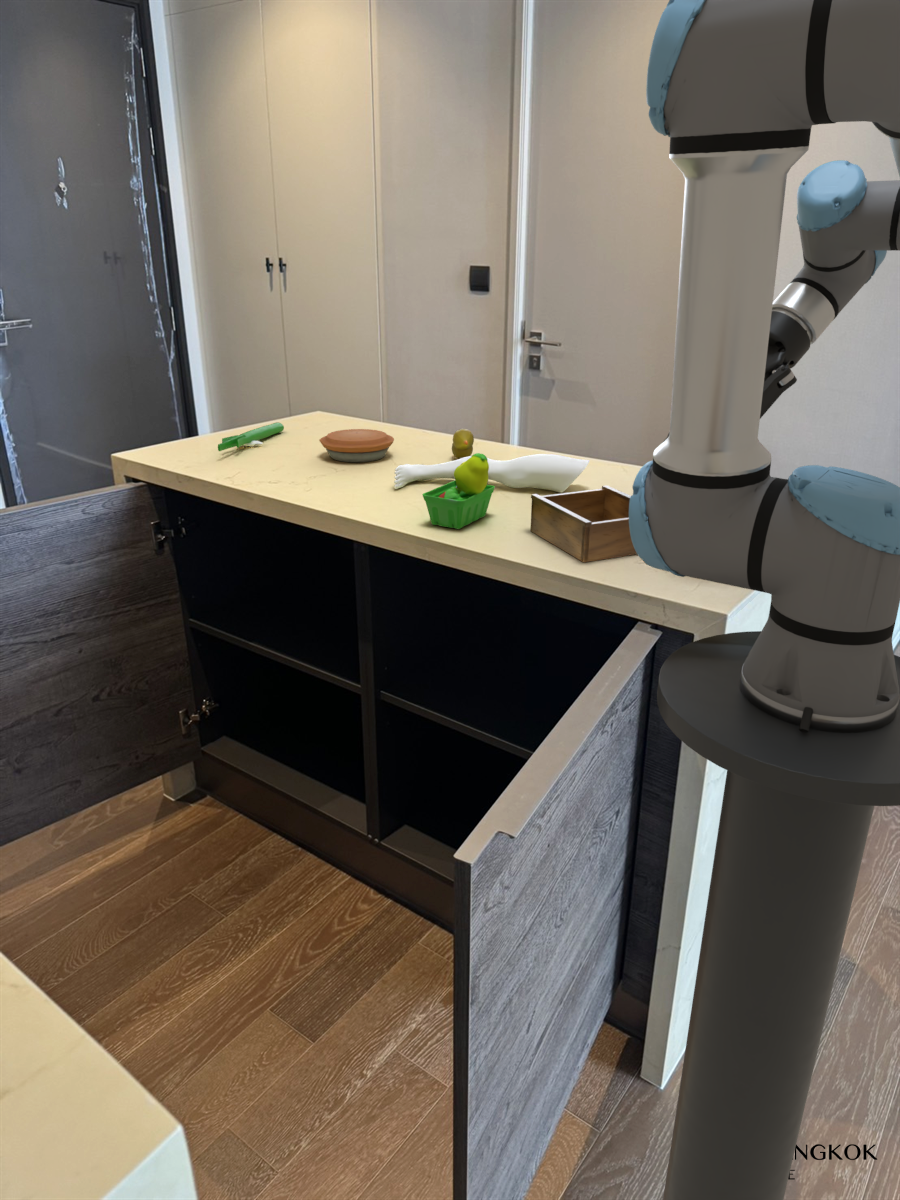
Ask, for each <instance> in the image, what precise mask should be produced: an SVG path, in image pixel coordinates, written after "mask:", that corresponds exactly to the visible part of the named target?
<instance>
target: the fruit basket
mask: <svg viewBox="0 0 900 1200" xmlns="http://www.w3.org/2000/svg"><path fill="white" fill-rule="evenodd" d="M471 456H472V457H471V458H469V459H468V460H467V461H465V462H463V463H462V464H460V466H458V467H457V468H456V469H455V471H454V477H455V479H454V480H452V481H450V482H447V483H446V484H445V483H444V484H443V485H441V486H438V487H436V488H434V489H431V490H429V491H426V492H424V493H422V498H423V500H424V502H425V505H426V509H427V512H428V516H429V520H430V523H431V525H434V526H440V527H444V528H451V529H455V530H460V529H462V528H464V527H465V526H466V527H467V526H468V525H470V524H472V523H474V522H477V521H478V520H479V519H482V518H484V517H486V514H487V511H488V508H489V505H490V501H491V498H492V494H493V493H494V491H495V488H496V486H495V485H491V484H488V482H489V479H488V470H489V464H488V462H487V460H488V459H487V458H488V457H487V456H486V454H484V453H479V452H476V453H474V454H473V455H472V454H471Z"/></svg>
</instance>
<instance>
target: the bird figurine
mask: <svg viewBox="0 0 900 1200" xmlns="http://www.w3.org/2000/svg"><path fill="white" fill-rule="evenodd" d="M474 442H475V438H474V435H473V433H472V431H471V430H469V429H467V428H461V429H458V430H456V431H455V432H454V433H453V436H452V445H451V452H452V455H453V456H454V457H455V458H456V459H457V460H458V459H460V458H464V457H468V456H472V454H473V451H474V446H473V445H474Z"/></svg>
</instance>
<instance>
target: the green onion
mask: <svg viewBox="0 0 900 1200" xmlns="http://www.w3.org/2000/svg"><path fill="white" fill-rule="evenodd" d="M284 429H285V426H284V424H283V423H281V422H274V423H273V422H272V423H271V424H266V425H263V426H260V427H256V428H253V429H251V430H250V429H249V430H247V431H245V432H243V433H240V434H236V435H232V436H227V437H223V438H221V442H220V443H218V444H217V451H218V452H222V451H225V450H228V449H231V448H235V447H236V448H237V449H239V448H240V447H242V446H243V447H251V448H252V447H255V446H256V445H263V444H264V443H263V441H260V440H263V439H266V438H268V437H269V438H270V437H271V436H273V435H276V434H279V433H282V432H283V431H284Z"/></svg>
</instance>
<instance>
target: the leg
mask: <svg viewBox="0 0 900 1200" xmlns="http://www.w3.org/2000/svg"><path fill="white" fill-rule="evenodd" d="M471 457H472V455H471V456H468V457H464V458H460V459H458V458H457V459H455V460H450V461H445V462H441V463H436V464H435V463H434V464H418V463H416V464H409V463H405V464H399V465H398V466H396V468H395V469H394V475H395V476H394V477H393V478H394V479H395V480H394V481H393V483H394V486H393V487H394V489H395V490H397V489H400V488H403V487H404V486H406V485H407V484H409V483H412V482H415V481H419V482H425V481H429V480H436V479H437V480H439V479H448V480H455V477H454V471H455V469H456V468H457V467H458V466H460V464H462V463H463V462H465V461H467V460H468V459H469V458H471ZM487 459H488V460H487V462H488V464H489V470H488V481H493V482H496V483H500V484H502V485H503V486H506V487H508V488H512V489H521V488H522V489H523V488H531V489H538V490H547V491H552V492H556V493H558V494H561V493H564V492H565V491H566V490H567V489H568V488H569V487H570V486H571V485H572V484H573V483H574V481H576V479H577V478H578V477H579V476H580V475H581V474H582V473H583V472H584V470H585V469H586V468H587V467H588V465H589V463H590V459H582V458H574V457H571V456H570V457H569V456H565V455H560V454H553V453H535V454H529V455H523V456H519V457H516V458H512V459H507V460H499V459H492V458H489V457H487Z"/></svg>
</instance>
